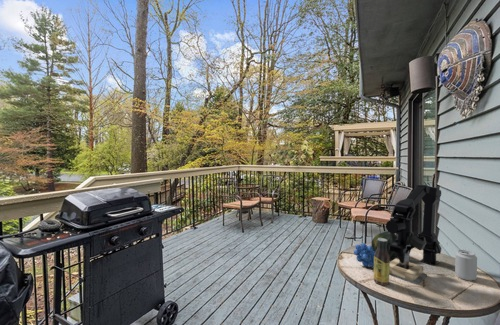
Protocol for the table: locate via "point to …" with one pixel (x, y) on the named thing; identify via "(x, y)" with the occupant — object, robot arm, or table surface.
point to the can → (466, 265)
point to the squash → (391, 239)
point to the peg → (405, 261)
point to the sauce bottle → (381, 263)
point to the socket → (407, 272)
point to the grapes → (365, 254)
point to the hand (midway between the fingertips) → (404, 261)
